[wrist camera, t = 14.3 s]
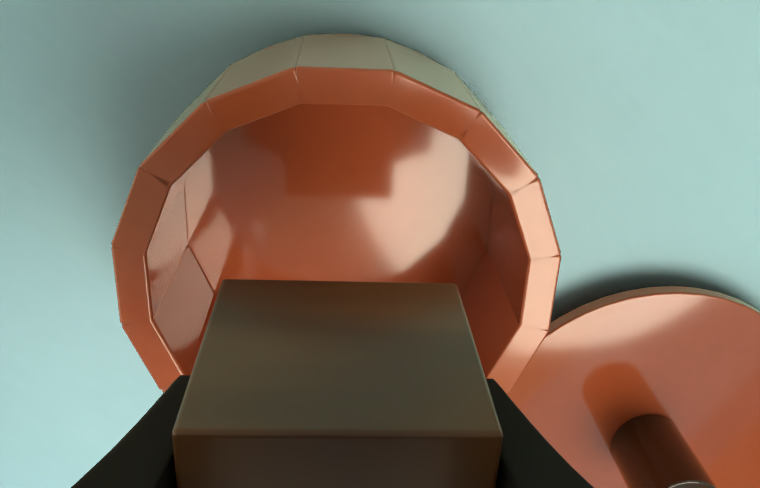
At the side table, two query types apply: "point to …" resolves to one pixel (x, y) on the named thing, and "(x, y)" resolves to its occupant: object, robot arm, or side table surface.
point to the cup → (336, 199)
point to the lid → (651, 389)
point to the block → (337, 390)
